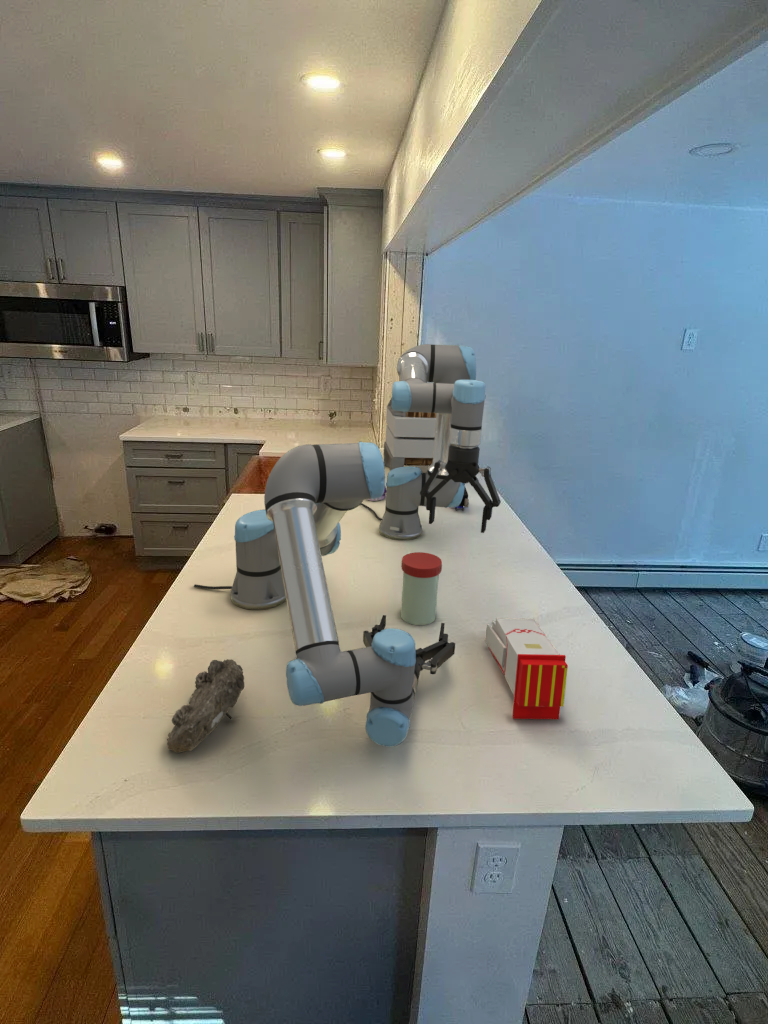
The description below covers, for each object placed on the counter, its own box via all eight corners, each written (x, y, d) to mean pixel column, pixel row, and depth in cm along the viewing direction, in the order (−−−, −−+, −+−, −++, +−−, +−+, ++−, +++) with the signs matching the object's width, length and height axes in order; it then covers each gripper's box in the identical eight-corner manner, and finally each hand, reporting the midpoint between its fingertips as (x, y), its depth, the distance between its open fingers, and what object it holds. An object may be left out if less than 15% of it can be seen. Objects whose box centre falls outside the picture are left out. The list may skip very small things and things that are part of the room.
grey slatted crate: (382, 463, 289) (386, 382, 275) (445, 464, 293) (451, 384, 279) (390, 482, 257) (394, 392, 243) (460, 483, 261) (468, 394, 247)
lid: (449, 574, 140) (449, 565, 139) (413, 580, 136) (413, 571, 135) (428, 558, 149) (429, 549, 148) (394, 564, 144) (394, 555, 144)
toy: (531, 603, 136) (576, 661, 106) (526, 655, 139) (569, 725, 109) (481, 602, 135) (512, 660, 106) (477, 654, 138) (507, 724, 109)
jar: (441, 621, 145) (446, 566, 140) (410, 628, 141) (414, 572, 136) (424, 605, 153) (428, 552, 147) (394, 611, 149) (397, 557, 144)
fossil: (192, 660, 117) (244, 628, 112) (224, 691, 120) (276, 661, 115) (142, 746, 98) (202, 712, 93) (182, 779, 101) (242, 748, 96)
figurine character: (468, 516, 224) (463, 500, 237) (471, 498, 221) (465, 483, 234) (452, 515, 224) (447, 499, 237) (453, 498, 220) (449, 482, 234)
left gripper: (337, 685, 115) (360, 631, 134) (461, 704, 111) (465, 645, 130) (337, 654, 112) (361, 603, 132) (464, 672, 108) (469, 616, 128)
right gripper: (518, 448, 137) (508, 530, 144) (420, 436, 145) (415, 514, 152) (513, 454, 131) (503, 540, 138) (411, 442, 139) (406, 523, 146)
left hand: (413, 624), depth 131 cm, fingers open, 13 cm apart
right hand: (456, 526), depth 145 cm, fingers open, 13 cm apart
